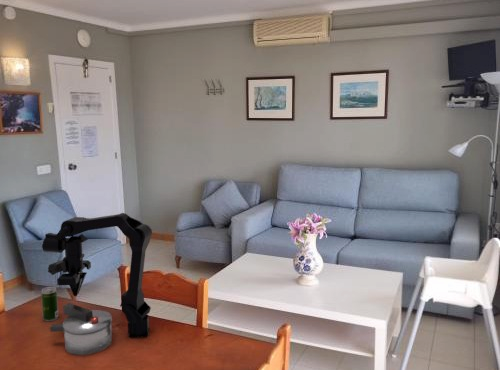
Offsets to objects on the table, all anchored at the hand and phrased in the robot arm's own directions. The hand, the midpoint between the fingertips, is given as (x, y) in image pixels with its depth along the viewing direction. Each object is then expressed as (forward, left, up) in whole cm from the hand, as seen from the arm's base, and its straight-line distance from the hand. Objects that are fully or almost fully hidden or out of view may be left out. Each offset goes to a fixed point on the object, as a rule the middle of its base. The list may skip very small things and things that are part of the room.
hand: (76, 294), depth 159 cm
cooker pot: (-5, +11, -13) cm, 18 cm away
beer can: (+13, -9, -13) cm, 21 cm away
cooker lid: (-6, +10, -6) cm, 13 cm away
